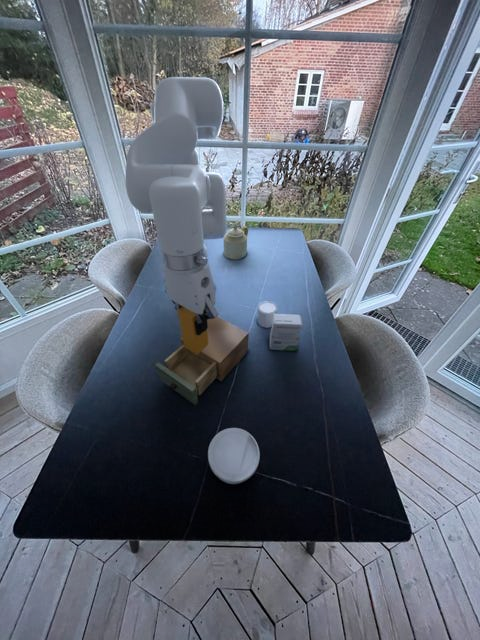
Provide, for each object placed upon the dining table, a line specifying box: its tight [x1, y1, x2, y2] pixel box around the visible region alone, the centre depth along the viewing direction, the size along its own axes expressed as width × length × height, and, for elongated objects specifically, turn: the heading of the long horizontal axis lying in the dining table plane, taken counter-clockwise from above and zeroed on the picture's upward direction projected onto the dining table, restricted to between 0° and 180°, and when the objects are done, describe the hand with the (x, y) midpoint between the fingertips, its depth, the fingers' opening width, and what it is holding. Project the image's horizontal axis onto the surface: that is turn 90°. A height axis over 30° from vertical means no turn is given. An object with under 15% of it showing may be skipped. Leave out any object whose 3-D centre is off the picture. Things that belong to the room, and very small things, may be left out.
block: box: [176, 306, 209, 355], centre depth 61 cm, size 4×4×12 cm
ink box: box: [269, 313, 304, 351], centre depth 83 cm, size 8×5×12 cm, turn 87°
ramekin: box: [207, 427, 261, 485], centre depth 59 cm, size 11×11×5 cm
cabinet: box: [179, 316, 250, 382], centre depth 80 cm, size 14×15×9 cm
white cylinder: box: [257, 300, 279, 328], centre depth 92 cm, size 7×7×7 cm
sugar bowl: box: [223, 223, 249, 260], centre depth 125 cm, size 15×11×15 cm
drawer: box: [154, 344, 219, 406], centre depth 74 cm, size 14×14×7 cm
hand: (193, 326), depth 60 cm, fingers closed on block, 4 cm apart
